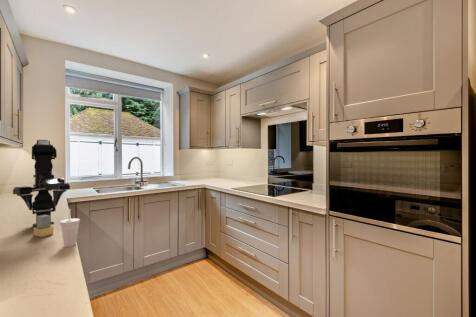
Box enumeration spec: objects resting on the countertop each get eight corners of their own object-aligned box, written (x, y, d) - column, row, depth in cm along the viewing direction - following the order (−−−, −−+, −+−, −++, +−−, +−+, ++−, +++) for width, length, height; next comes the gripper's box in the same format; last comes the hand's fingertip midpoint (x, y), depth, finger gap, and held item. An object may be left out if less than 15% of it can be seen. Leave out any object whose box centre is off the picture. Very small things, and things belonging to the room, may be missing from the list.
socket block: (33, 236, 99) (33, 228, 99) (46, 232, 104) (46, 225, 104) (41, 237, 97) (41, 229, 97) (53, 234, 101) (53, 226, 101)
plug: (36, 234, 100) (36, 216, 100) (44, 232, 103) (44, 214, 103) (42, 235, 98) (42, 217, 98) (50, 233, 101) (50, 215, 101)
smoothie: (77, 240, 94) (77, 206, 94) (82, 244, 90) (82, 209, 90) (57, 245, 89) (57, 209, 89) (62, 249, 85) (62, 212, 85)
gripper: (27, 174, 89) (27, 214, 89) (77, 171, 106) (77, 205, 106) (12, 173, 93) (12, 212, 93) (62, 171, 110) (62, 203, 110)
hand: (43, 208), depth 100 cm, fingers open, 9 cm apart
